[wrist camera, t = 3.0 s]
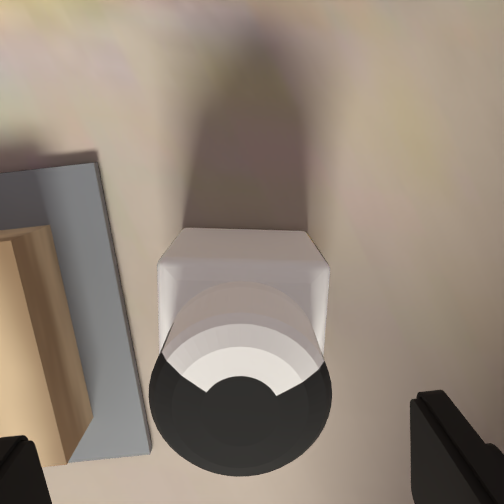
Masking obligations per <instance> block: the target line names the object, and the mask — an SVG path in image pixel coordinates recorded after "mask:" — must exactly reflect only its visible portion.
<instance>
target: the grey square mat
mask: <svg viewBox="0 0 504 504" xmlns="http://www.w3.org/2000/svg"><path fill="white" fill-rule="evenodd" d="M44 225H50V227H51V232H52V236H53V241H54V245H55V249H56V254H57V258H58V263H59V267H60V272H61V276H62V280H63V285H64V289H65V294H66V298H67V303H68V307H69V312H70V316H71V320H72V325H73V329H74V334H75V338H76V343H77V347H78V351H79V356H80V360H81V365H82V369H83V374H84V378H85V382H86V387H87V391H88V396H89V400H90V405H91V409H92V414H93V419H92V421H91V423H90V424H89V426H88V428H87V430H86V431H85V433H84V435H83V437H82V438H81V440H80V442H79V444H78V446H77V447H76V449H75V451H74V453H73V454H72V456H71V458H70V460H69V462H68V463H70V462H80V461H90V460H100V459H110V458H119V457H129V456H139V455H149V454H150V453H151V450H152V444H151V439H150V434H149V428H148V423H147V418H146V413H145V408H144V402H143V397H142V392H141V387H140V381H139V376H138V371H137V366H136V361H135V355H134V350H133V345H132V340H131V335H130V329H129V324H128V319H127V314H126V308H125V303H124V298H123V293H122V288H121V282H120V277H119V272H118V267H117V262H116V256H115V251H114V246H113V241H112V235H111V230H110V225H109V220H108V215H107V209H106V204H105V199H104V194H103V189H102V183H101V178H100V173H99V168H98V162H96V163H87V164H78V165H69V166H60V167H51V168H42V169H33V170H24V171H16V172H7V173H0V230H8V229H17V228H26V227H35V226H44Z"/></svg>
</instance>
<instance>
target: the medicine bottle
mask: <svg viewBox="0 0 504 504" xmlns="http://www.w3.org/2000/svg"><path fill="white" fill-rule="evenodd" d="M329 278H330V267H329V264H328V263H327V261H326V260H325V258H324V257H323V256H322V254H321V253H320V251H319V250H318V248H317V247H316V245H315V244H314V242H313V241H312V239H311V238H310V237H309V235H308V234H307V233H306V232H304V231H289V230H254V229H219V228H184V229H183V230H182V231H181V232H180V233H179V234H178V236H177V237H176V238H175V240H174V241H173V242H172V243H171V245H170V246H169V247H168V249H167V250H166V251H165V253H164V254H163V255H162V257H161V258H160V259H159V260H158V264H157V282H158V327H159V356H158V359H157V361H156V363H155V366H154V369H153V371H152V374H151V379H150V384H149V403H150V410H151V413H152V417H153V420H154V422H155V424H156V427H157V429H158V431H159V432H160V434H161V435H162V437H163V439H164V440H165V441H166V442H167V443H168V445H169V446H170V447H171V448H172V449H173V450H174V451H175V452H177V453H178V454H179V455H180V456H181V457H183V458H184V459H186V460H187V461H189V462H190V463H192V464H194V465H196V466H198V467H200V468H202V469H204V470H207V471H210V472H213V473H217V474H221V475H227V476H253V475H260V474H263V473H267V472H271V471H273V470H276V469H278V468H281V467H283V466H284V465H286V464H288V463H290V462H292V461H293V460H295V459H296V458H298V457H299V456H300V455H302V454H303V453H304V452H305V451H306V450H307V449H308V448H309V447H310V446H311V445H312V444H313V443H314V442H315V440H316V439H317V438H318V437H319V435H320V433H321V432H322V430H323V428H324V426H325V424H326V421H327V419H328V416H329V412H330V408H331V400H332V388H331V380H330V376H329V372H328V369H327V366H326V363H325V361H324V358H323V355H324V342H325V330H326V317H327V304H328V291H329Z"/></svg>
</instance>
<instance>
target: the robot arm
mask: <svg viewBox="0 0 504 504" xmlns="http://www.w3.org/2000/svg"><path fill="white" fill-rule="evenodd" d="M410 437H411V490H412V496H413V500H414V503H415V504H504V455H503V453H502V452H501V451H500V450H499V449H498V448H497V447H496V446H495V445H493V444H491V443H489V444H485V443H484V441H483V440H482V439H481V438H480V436H479V435H478V434H477V433H476V431H475V430H474V429H473V428H472V426H471V425H470V424H469V422H468V421H467V420H466V419H465V417H464V416H463V415H462V414H461V412H460V411H459V410H458V408H457V407H456V406H455V405H454V403H453V402H452V401H451V400H450V398H449V397H448V396H447V395H446V393H445V392H444V391H443V390H435V391H426V392H419V393H418V394H417V399H412V400H411V401H410ZM0 504H52V502H51V498H50V495H49V491H48V488H47V484H46V481H45V477H44V474H43V470H42V467H41V463H40V460H39V456H38V453H37V449H36V446H35V443H34V442H33V441H31V440H28V438H27V437H26V436H25V435H18V436H9V437H1V438H0Z"/></svg>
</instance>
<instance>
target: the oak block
mask: <svg viewBox="0 0 504 504" xmlns="http://www.w3.org/2000/svg"><path fill="white" fill-rule="evenodd" d="M92 419H93V414H92V409H91V405H90V400H89V396H88V391H87V387H86V382H85V378H84V374H83V369H82V365H81V360H80V356H79V351H78V347H77V343H76V338H75V334H74V329H73V325H72V320H71V316H70V312H69V307H68V303H67V298H66V294H65V289H64V285H63V280H62V276H61V272H60V267H59V263H58V258H57V254H56V249H55V245H54V241H53V236H52V232H51V227H50V225H44V226H35V227H26V228H17V229H8V230H0V438H1V437H9V436H18V435H25V436H26V437H27V438H28V440H31V441H33V442H34V443H35V446H36V449H37V453H38V456H39V460H40V463H41V467H47V466H57V465H67V463H68V462H69V460H70V458H71V456H72V454H73V453H74V451H75V449H76V447H77V446H78V444H79V442H80V440H81V438H82V437H83V435H84V433H85V431H86V430H87V428H88V426H89V424H90V423H91V421H92Z"/></svg>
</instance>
